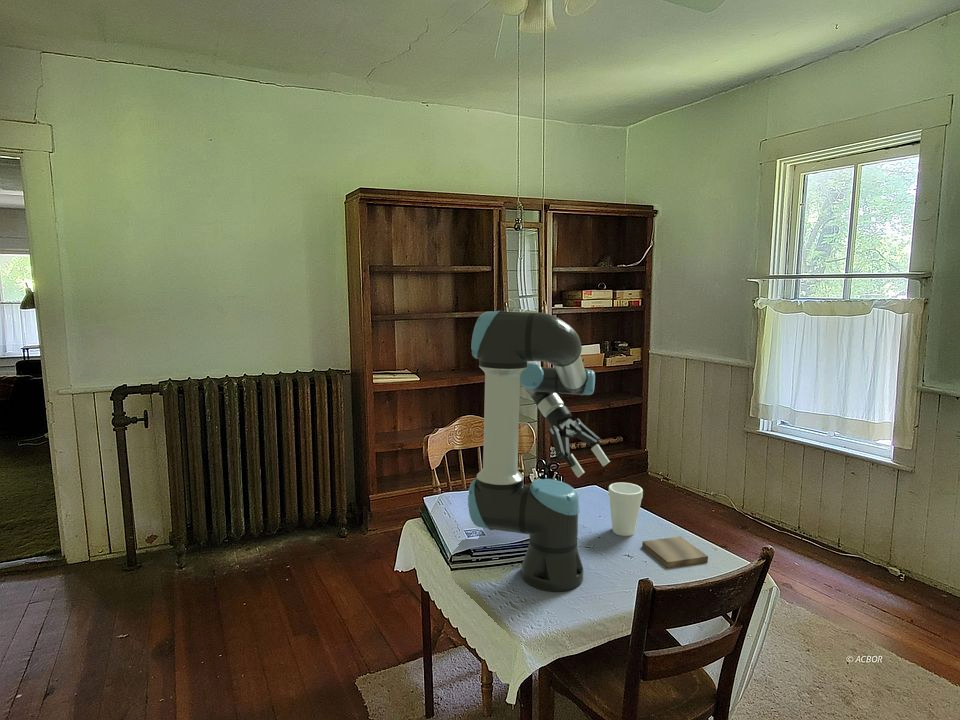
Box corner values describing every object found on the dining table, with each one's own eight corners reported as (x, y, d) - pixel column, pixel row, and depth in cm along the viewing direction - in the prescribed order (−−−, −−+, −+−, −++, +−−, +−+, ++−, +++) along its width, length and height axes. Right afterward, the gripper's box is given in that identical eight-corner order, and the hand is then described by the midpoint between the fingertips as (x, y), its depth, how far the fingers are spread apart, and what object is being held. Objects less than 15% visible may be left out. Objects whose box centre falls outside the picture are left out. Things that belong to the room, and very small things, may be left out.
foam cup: (643, 538, 169) (646, 494, 167) (610, 538, 169) (612, 494, 167) (635, 524, 178) (638, 482, 176) (604, 523, 178) (606, 482, 176)
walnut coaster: (667, 567, 153) (667, 562, 153) (642, 546, 164) (642, 541, 164) (707, 561, 156) (708, 556, 156) (680, 541, 168) (680, 536, 167)
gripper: (570, 411, 198) (608, 466, 190) (522, 425, 180) (561, 486, 172) (585, 398, 193) (624, 453, 185) (536, 411, 175) (577, 473, 167)
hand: (594, 469), depth 179 cm, fingers open, 13 cm apart
